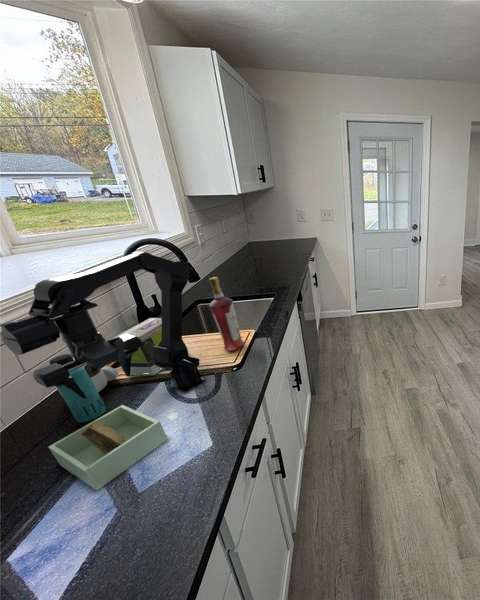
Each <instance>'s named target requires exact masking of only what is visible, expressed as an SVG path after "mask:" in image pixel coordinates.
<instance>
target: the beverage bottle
mask: <svg viewBox="0 0 480 600" xmlns="http://www.w3.org/2000/svg"><path fill="white" fill-rule="evenodd" d="M71 361H74V359H73V358H72V356H71V353H64V354H61V355H58V356H57V355H56V356H55V357H53V358H51V359H50V360H49V361H48V362H49V365H51V364H53V363H57V364H59V365H61V366H62V365H64V364H67V363H69V362H71ZM69 374H70V377H72V378H74V379H75V382H76V384H77V385H78V386H79V387H80V389H81V390H82V391H83V392H84V394H85V396H86V399H83V398H81V397H80V396H79V395H77V394H76V393H74V392H73V391H71V390H70V389H68V388H67V387H65V386H64V385H62V386H59V387H56V389H57V388H58V389H57V391H58V390H59V391H58V392H59V394H60V393H61V394H60V396H61V395H62V396H61V397H62V398H63V400H64V402H65V405H66V406H67V407H68V409H69V411H70V412H71V414H72V416H73V418H74V419H75V421H76V422H78V423H87V422H91V421H94V420H96V419H98V418H100V417H101V416H103V415H104V413H105V412H106V409H107V406H106V404H105V401H104V400H103V398H102V397H101V395H100V394H99V393H98V392H97V391H98V390H96V388H95V386H94V385H93V383H92V379H91V378H90V377H89V375H88V374H87V372H86V370H85V368H84V366H81V367H79V368H77V369H75V370H72V371H70V372H69Z"/></svg>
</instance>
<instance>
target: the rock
mask: <svg viewBox="0 0 480 600" xmlns="http://www.w3.org/2000/svg"><path fill="white" fill-rule="evenodd" d="M93 421H94V422H93ZM93 421H91V422H92V423H91V422H90V423H91V424H90V426H89V427H88V428H87V429H86V430H85V431H83V432H82V433H81V435H82V436H83V437H85V438H86V439H87V440H88V441H89V442H91V443H92V444H93V445H94V446H96V448H98V449H99V450H100V451H101V452H102V453H103V454H104V455H106V454H108V453H109V452H111V451H112V450H114V449H115V448H117V447H119V446H120V445H122V444H123V443H125V442H126V441H127V440H125V438H124V437H123V436H122V435H121V434H119V433H117V432H116V431H115V430H113V429H111V428H110V427H109V426H108V425H107V424H106V423H104V422H103V421H102V420H97V421H95V420H93Z"/></svg>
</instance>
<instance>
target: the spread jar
mask: <svg viewBox="0 0 480 600" xmlns="http://www.w3.org/2000/svg"><path fill="white" fill-rule="evenodd" d="M73 359H74V358H73ZM84 368H85V370H86V372H87V374H88V375H89V377H90V378H91V379H92V383H93V385H94V386H95V388H96V390H98V391H97V392H98V393H99V395H101V394H102V393H103V392H104V391H105V389H106V388H107V386H108V382H113V381H115V380H117V378H118V376H119V372H118V370H116V368H114V367H111V366H109V365H106V366H105V367H103V368H100V369H94V368H93V367H92V366H91V365H90V364H86V365H84ZM56 389H57V391H58V392H59V390H58V388H57V387H56ZM59 394H60V396H61V397H62V395H61V393H60V392H59Z"/></svg>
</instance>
